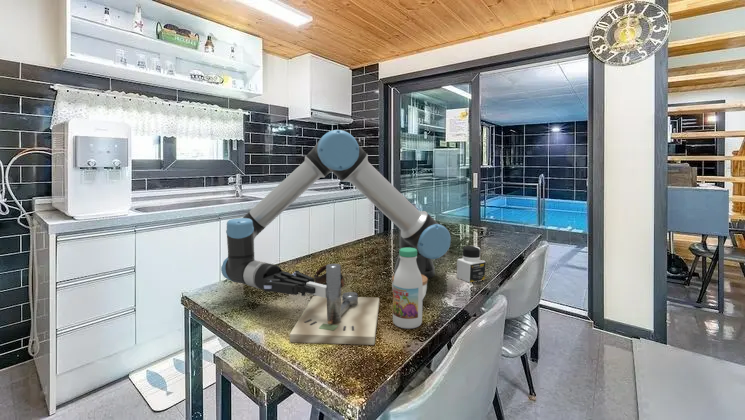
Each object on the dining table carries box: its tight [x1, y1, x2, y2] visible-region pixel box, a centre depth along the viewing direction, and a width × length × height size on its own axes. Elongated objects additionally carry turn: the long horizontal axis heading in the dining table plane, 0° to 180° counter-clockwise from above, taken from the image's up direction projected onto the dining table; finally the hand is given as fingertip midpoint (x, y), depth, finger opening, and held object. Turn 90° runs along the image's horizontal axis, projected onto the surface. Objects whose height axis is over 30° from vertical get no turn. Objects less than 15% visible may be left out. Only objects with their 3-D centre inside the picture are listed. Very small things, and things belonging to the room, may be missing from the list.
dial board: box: [289, 295, 380, 346], centre depth 95 cm, size 20×24×2 cm
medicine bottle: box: [456, 245, 486, 284], centre depth 128 cm, size 7×7×12 cm
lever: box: [325, 263, 359, 324], centre depth 94 cm, size 16×4×14 cm, turn 162°
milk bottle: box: [392, 247, 424, 330], centre depth 93 cm, size 8×8×20 cm
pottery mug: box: [313, 264, 345, 288], centre depth 123 cm, size 12×10×8 cm
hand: (327, 291), depth 90 cm, fingers closed
